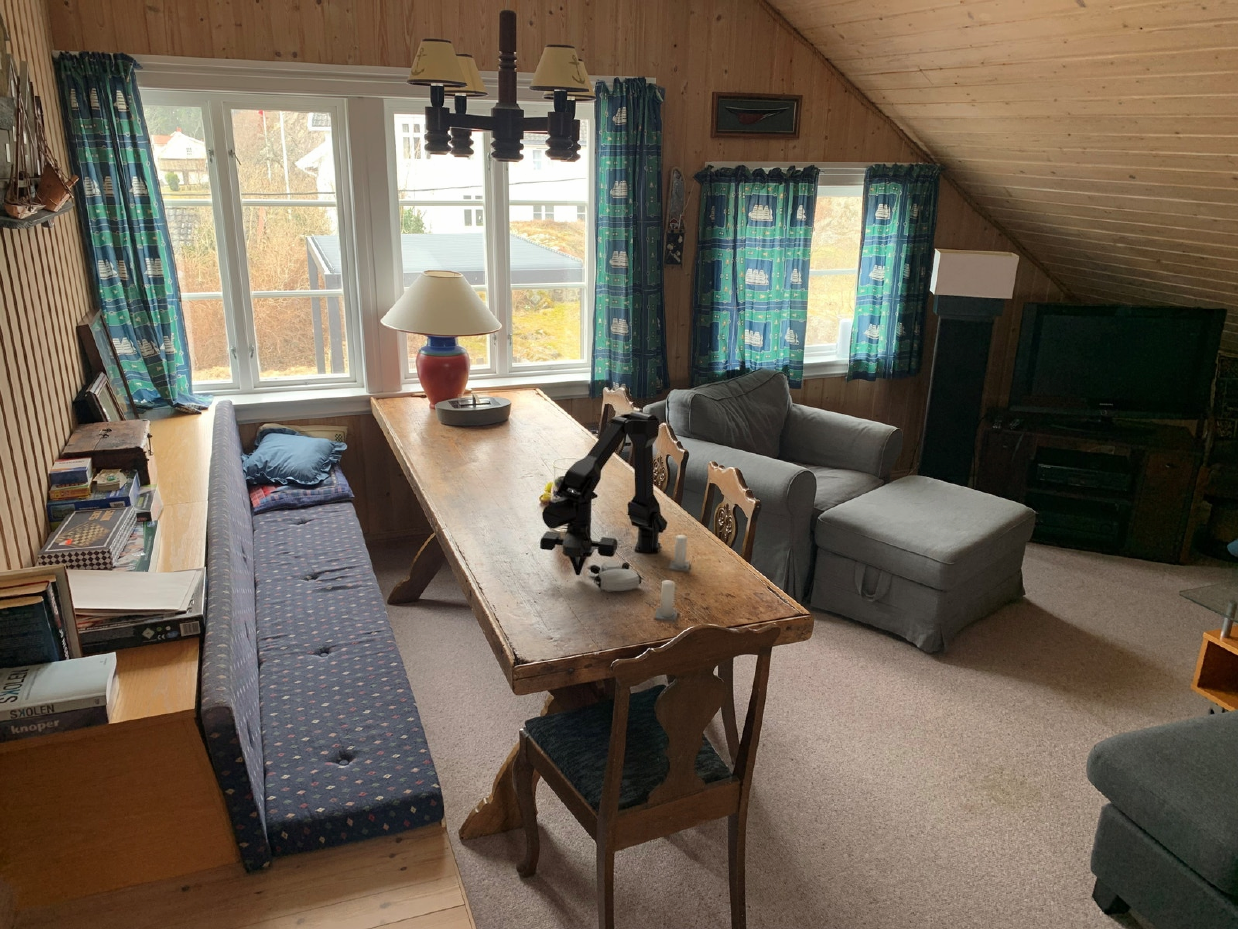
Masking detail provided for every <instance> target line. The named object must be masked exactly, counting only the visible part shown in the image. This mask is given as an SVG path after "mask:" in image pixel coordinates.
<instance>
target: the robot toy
mask: <svg viewBox="0 0 1238 929" xmlns="http://www.w3.org/2000/svg"><path fill="white" fill-rule="evenodd" d="M630 566H631V564H630V563H629V562H623V563H622V564H621V563H620V562H619V561H614V560H613V561H611V560H609V561H603V562H602V564H601V567H600V566H598V565H596V564H591V565H587V569H588V570H590V573H592V574H594V575H596V576H595V578H594V580H593V584H595V585H596V586H597V587H598V588H600V589H601V590H603V591H604V592H607V593H611V592H623V591H632V590H634V589H637V588H638V587H639V586H640V585H641V584H642V580H643V581H647V579H646V578H644V577H643V576H641V575H640V574H639V573H638V572H636V571H635V570H633V569H630Z"/></svg>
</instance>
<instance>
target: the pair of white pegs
mask: <svg viewBox="0 0 1238 929" xmlns="http://www.w3.org/2000/svg"><path fill="white" fill-rule="evenodd" d="M687 547H688V537H687V536H686V535H684V534H678V535H676V536H675V542H674V557H673V558H674V559H673V560H672V559H671V561H670V564H669V567H668V571H672V572H674V571H675V572H681V573H688V572H689V569H690V565H691V562H689V561H686V560H687ZM675 587H676V583H675V581H673V580H669V579H664V580H662V581H661V591H660V592H661V594H660V607H657V608H656V611H655V614H654V618H653V619H654V621H661V622H669V623H676V622H677V618H678V615H679V610H678V609H674V602H675V590H676V588H675Z"/></svg>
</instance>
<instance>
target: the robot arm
mask: <svg viewBox="0 0 1238 929" xmlns="http://www.w3.org/2000/svg"><path fill="white" fill-rule="evenodd" d="M659 431H660V419H659V417H657V416H656V415H654V414H651V413H647V412H643V411H640V410H633V411H631V412H630V413H625V414H620V415H619V416H617V415H616V416H613V417H612V418H611V419H610V423H609V425H608V426H607V428H606V429H605V431H603V433H602V435H601V436H599V439H598V440H597V441H596V443H595V444H594V445H593V447H592V448H591V449H590V450H589V452H588V453H587V454H586V456H585V457H584V458H582V459H579V460H577V461H575V462H574V464H572V465H571V466H570V467H569V468H568V469H567V471H566V472H565V474H564V476H563V479H562V481H561V483H560V485H559V487H558V488H557V490H556V492H555V496H557V497H559V498H555V499H550V500H549V501H548V505H546V506H545V507H544V508H543V510H542V512H541V513H542V514H541V516H542V521H543V523H544V524H545V526H547V528H549V529H552V530H555V529H558V528H560V527H562V526H565V525H567V528H566V531H565V535H564V537H562V535H561V532H557V531H550V530H549V531H546V532H545V533H544V534H543V536H541V538H540V541H539V548H540V549H541V550H547V551H553V550H554V549H555V548H556V546H562V554H563V556H566V557H568V558H569V560H570V562H571V564H572V567H573V571H574V573H575V576H581V573H582V570H583V567H584V566H585V562H586V560H587V558H590V557H592V555H593V553H594V552H595V550H597V554H599V556H600V557H608V558H609V557H610V558H612V557H614V556H615V554H616V551H617V550H618V540H617V539H616V538H613V537H605V536H603V537H601V539H600V541H598V540H597V541H596V540H593V539H592V503H593V502H592V500H593V499H594V500H595V499H597V498H599V497H598V494H597V493H596V492H594V491H595V489H596V488H597V486H598V484H599V482H600V481H601V478H602V477H601V476H602V470H603V468H604V467H605V465H606V464H607V463H608V461H609V460H610V458H611V457H612V456H613V454H614V453H615V452H616V450H617V449H618V447H619V446H620V445H621V443H622V442H623V440H624V439H625V438H626V437H627V436H628V438H629V440H630V441H631V444H632V445H633V469H634V473H633V474H634V496H633V497H632V499H631V500H630V501H628V502H627V514H626V515H627V516H628V518H629V520H630V523H631V526H632V527H633V526H634V527H636V528H637V541H636V545H635V547H634V552H640V553H649V554H659V550H660V549H661V543H660V542H659V536H660V535H659V534H661V533H664V531H666V530H667V525H668V521H667V519H665V517H664V516H663V515H662V511H661V506H660V503H659V501H658V499H657V497H656V496H655V493H654V492H655V491H654V458H653V457H654V449H653V448H654V447H653V446H654V443H655V442H656V440H657V438H658V437H659ZM569 490H570V491H569ZM572 491H573V492H572Z"/></svg>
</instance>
